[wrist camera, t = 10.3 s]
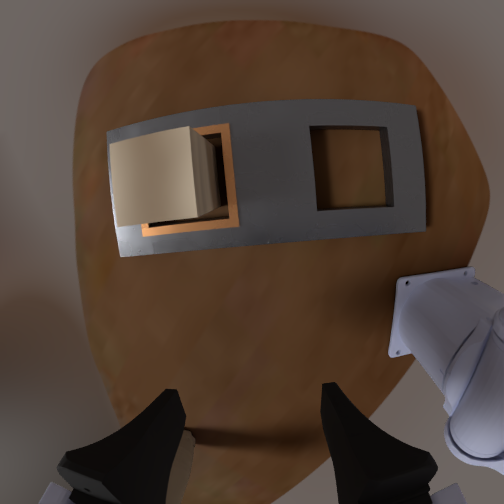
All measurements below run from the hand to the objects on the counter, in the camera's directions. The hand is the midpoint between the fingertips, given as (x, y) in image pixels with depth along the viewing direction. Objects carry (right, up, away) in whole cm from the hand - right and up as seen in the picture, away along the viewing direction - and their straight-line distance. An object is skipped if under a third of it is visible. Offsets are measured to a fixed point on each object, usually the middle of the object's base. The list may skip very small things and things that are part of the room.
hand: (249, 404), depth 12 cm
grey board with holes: (+1, +13, +8) cm, 15 cm away
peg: (-5, +13, +8) cm, 16 cm away
